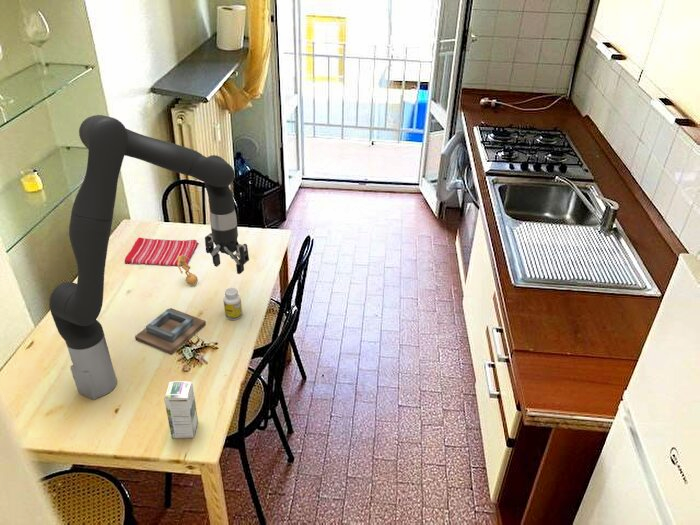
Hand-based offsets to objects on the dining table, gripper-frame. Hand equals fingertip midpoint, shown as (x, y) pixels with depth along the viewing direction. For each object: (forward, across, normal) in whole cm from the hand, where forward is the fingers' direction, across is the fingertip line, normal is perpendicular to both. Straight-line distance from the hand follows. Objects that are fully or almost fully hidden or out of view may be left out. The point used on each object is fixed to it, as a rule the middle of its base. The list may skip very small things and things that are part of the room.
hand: (228, 269), depth 174 cm
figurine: (+18, -24, +7) cm, 31 cm away
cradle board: (+18, -12, -16) cm, 27 cm away
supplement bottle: (+18, 0, 0) cm, 18 cm away
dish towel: (+19, -46, +18) cm, 53 cm away
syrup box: (+18, +17, -44) cm, 51 cm away
